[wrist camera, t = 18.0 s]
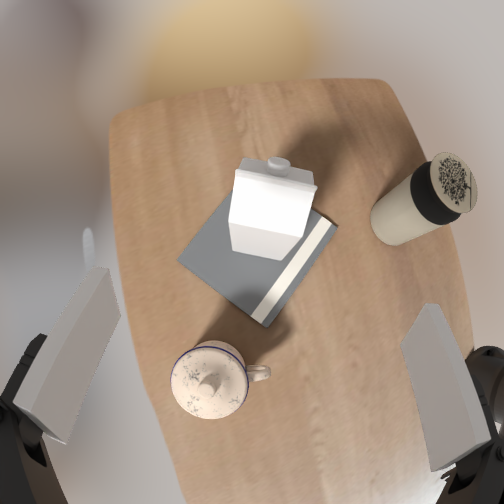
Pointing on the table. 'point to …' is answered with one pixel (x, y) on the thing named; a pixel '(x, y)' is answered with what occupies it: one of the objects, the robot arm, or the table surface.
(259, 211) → the milk carton
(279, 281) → the mat
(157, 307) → the table surface
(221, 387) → the teacup with lid
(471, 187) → the travel mug
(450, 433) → the robot arm
